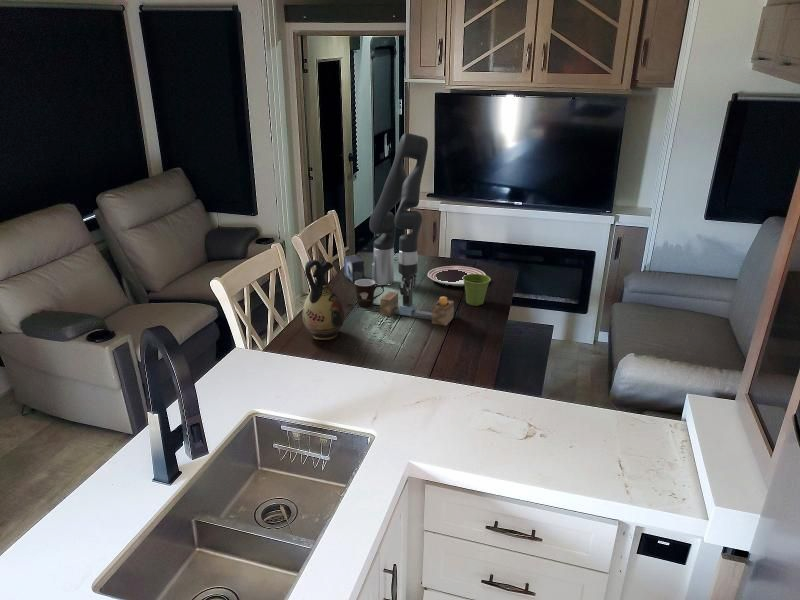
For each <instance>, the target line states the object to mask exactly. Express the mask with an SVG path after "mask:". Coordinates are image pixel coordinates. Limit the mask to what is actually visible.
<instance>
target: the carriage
mask: <svg viewBox="0 0 800 600" xmlns="http://www.w3.org/2000/svg"><path fill="white" fill-rule="evenodd" d="M413 292H414V289H413V288H411V289H410V290H409V303H408V304H404V303H403V302H402V303H401V304H400V305H399V308H400V314H402V316H405V315H408V316H407V317H412V311H413V310H417V309H416V308H417V307H416V303H414V302H413V298H414V297H413V296H414V294H413Z"/></svg>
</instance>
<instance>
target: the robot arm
mask: <svg viewBox="0 0 800 600" xmlns="http://www.w3.org/2000/svg"><path fill="white" fill-rule="evenodd" d="M428 149H429V141H428V138H426V137H425V136H422V135H417V134H413V133H409V132H405V133H403V134H402V136H401V137H400V140H399V143H398V145H397V150H396V153H395V155H394V160H393V163H392V165H391V168H390V169H389V173H388V176H387V178H386V180H385V182H384V185H383V189H382V191H381V194H380V197H379V199H378V200H377V201H378V202H377V203H376V205H375V207H374V209H373V211H372V213H371V215H370V219H369V223H368V225H369V226H368V227H369V231H370V232H371V233H373V234H375V235H377V234H378V235H380V236H378V238H376V239H375V240H374V241H373V262H372V263H371V268H372V269H371V271H372V272H371V273H372V274H371V276H372V278H371V280H374V281H375V283H377V284H380V285H387V286H389V285H388V284H391V285H393V284H394V283H395V275H394V273H395V266H394V265H395V257H394V256H395V249H394V248H395V247H394V246H395V242H396V233H397V232H396V230H397V229H399V230H412V231H411V232H409V233H406V234H402V235H400V236H399V239H398V249H399V250H398V259H397V260H398V262H397V263H398V267H397V268H398V269H397V271H398V274H400V275H401V276H402V277H401V282H399V283H398V289H399V293H400V295H402V303H404V304H408V303H409V290H410V289H411V288H413V290H415V288H416V281H417V273H418V261H419V260H418V259H419V258H418V237H419V233H420V229H421V227H422V223H423V215H422V214H421V212H420V211H417V210H409V209H413V208H414V209H415V208H417V207H418V206H419V203H420V194H421V182H422V179H423V178H422V177H423V174H424V169H425V165H426V159H427V155H428ZM405 158H407V159H411V160H412V159H413V160H416V164H415V166H414V168H413V169H412V171H411V172H410V173H409V174H407V172H406V170H405V165H404V159H405ZM398 203H399V206H398V208H397V211H396V213H395V215H394V213H393V212H392V211H391V210H392V209H393V208H394V207H395V206H397V204H398ZM396 228H397V229H396ZM393 282H394V283H393ZM392 283H393V284H392Z"/></svg>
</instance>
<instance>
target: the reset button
mask: <svg viewBox="0 0 800 600" xmlns="http://www.w3.org/2000/svg"><path fill="white" fill-rule="evenodd" d="M439 299H440V303H439V305H440V306H447V300H448V297H447V296H439Z"/></svg>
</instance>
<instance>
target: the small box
mask: <svg viewBox="0 0 800 600" xmlns="http://www.w3.org/2000/svg"><path fill="white" fill-rule="evenodd" d="M343 274H344V275H345V276H346V277H347V278H348V279H350V280H351V281H352V282H354V281H357V280H360V279H365V260H364V259H362V258H360V257H359V256H357V255H356V254H352V255H346V256H343ZM344 275H343V276H344ZM347 278H346V279H347ZM348 279H347V280H348ZM352 282H351V283H352Z"/></svg>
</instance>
